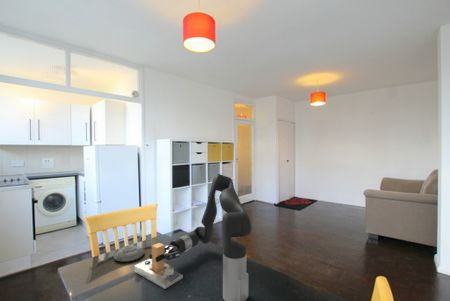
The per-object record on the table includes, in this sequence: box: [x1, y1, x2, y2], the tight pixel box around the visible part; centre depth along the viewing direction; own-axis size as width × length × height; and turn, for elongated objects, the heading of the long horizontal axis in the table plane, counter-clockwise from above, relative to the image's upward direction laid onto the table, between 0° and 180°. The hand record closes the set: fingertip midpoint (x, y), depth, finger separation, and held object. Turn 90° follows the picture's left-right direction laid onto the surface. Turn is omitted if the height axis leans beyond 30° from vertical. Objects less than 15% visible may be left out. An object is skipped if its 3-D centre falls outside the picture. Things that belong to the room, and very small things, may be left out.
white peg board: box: [134, 258, 184, 290], centre depth 104 cm, size 22×10×3 cm, turn 54°
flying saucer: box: [113, 245, 145, 262], centre depth 122 cm, size 15×15×6 cm
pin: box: [151, 242, 165, 273], centre depth 104 cm, size 4×4×12 cm
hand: (153, 258), depth 102 cm, fingers closed on pin, 4 cm apart
